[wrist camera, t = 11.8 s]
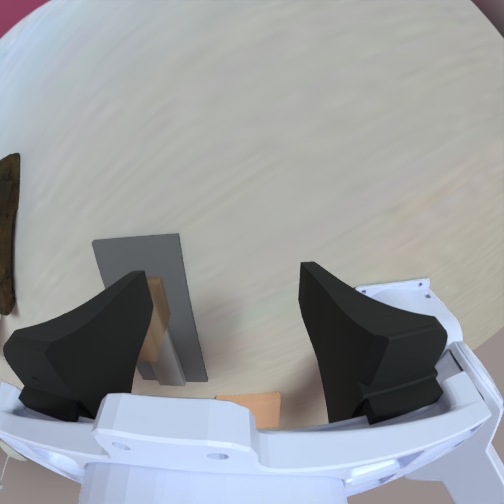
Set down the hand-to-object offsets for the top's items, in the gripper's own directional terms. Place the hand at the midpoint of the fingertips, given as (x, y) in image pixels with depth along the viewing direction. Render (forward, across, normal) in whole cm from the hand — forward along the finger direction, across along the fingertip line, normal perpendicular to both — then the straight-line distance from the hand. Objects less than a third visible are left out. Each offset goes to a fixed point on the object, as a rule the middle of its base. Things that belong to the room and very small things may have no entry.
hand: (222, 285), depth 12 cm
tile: (+9, 0, +23) cm, 25 cm away
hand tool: (+10, +25, -1) cm, 27 cm away
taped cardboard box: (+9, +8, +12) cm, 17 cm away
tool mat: (+9, +8, +10) cm, 16 cm away
